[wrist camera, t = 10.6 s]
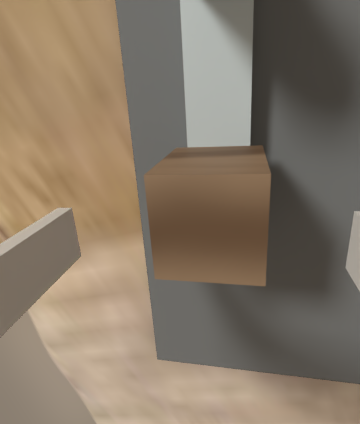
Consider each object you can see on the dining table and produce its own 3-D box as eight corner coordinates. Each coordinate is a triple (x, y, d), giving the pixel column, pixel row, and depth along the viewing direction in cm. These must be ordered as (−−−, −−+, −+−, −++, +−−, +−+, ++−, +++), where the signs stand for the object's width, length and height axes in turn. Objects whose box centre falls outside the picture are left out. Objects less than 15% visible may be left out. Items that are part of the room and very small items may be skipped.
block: (176, 147, 20) (143, 175, 14) (262, 145, 19) (271, 174, 12) (181, 223, 22) (154, 279, 16) (259, 225, 21) (265, 286, 14)
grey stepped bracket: (180, -87, 17) (97, -311, 7) (255, -101, 16) (269, -374, 6) (196, 244, 24) (164, 343, 15) (247, 246, 23) (248, 352, 14)
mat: (114, -32, 19) (111, -34, 18) (718, -128, 13) (731, -134, 13) (158, 356, 31) (157, 359, 30) (487, 395, 25) (491, 400, 24)
